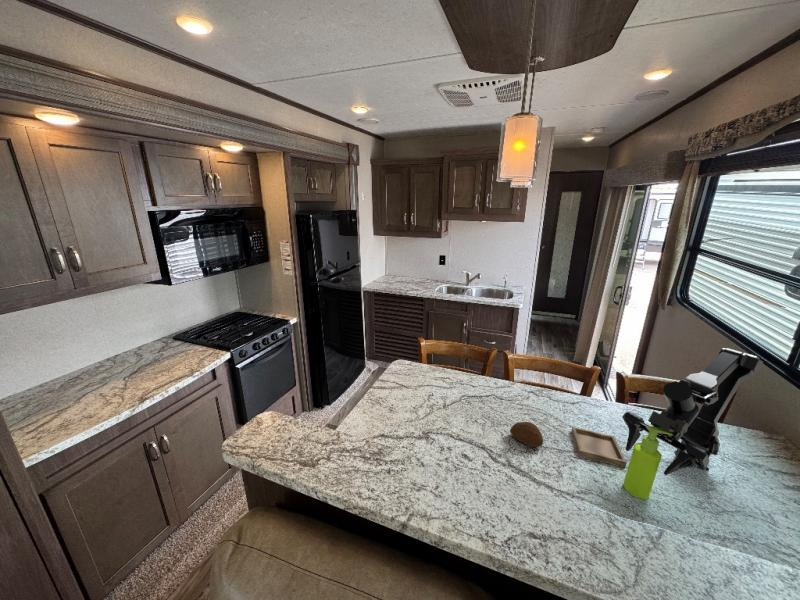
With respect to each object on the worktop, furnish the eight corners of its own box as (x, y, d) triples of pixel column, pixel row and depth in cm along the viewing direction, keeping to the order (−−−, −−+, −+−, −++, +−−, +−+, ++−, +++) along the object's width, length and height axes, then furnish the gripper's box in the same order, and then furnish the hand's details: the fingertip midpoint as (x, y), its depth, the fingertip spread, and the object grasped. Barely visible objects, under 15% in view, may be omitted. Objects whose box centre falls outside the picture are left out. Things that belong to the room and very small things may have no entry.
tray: (612, 441, 107) (614, 436, 106) (625, 467, 95) (626, 462, 95) (571, 431, 111) (572, 426, 110) (578, 455, 99) (579, 450, 99)
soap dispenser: (657, 502, 84) (679, 438, 79) (629, 496, 85) (648, 433, 80) (645, 484, 89) (664, 424, 84) (619, 479, 91) (636, 419, 86)
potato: (513, 429, 110) (516, 412, 108) (544, 442, 104) (548, 424, 103) (506, 439, 105) (509, 421, 103) (539, 454, 99) (543, 435, 97)
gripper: (634, 386, 90) (602, 427, 88) (718, 424, 74) (681, 476, 72) (642, 404, 96) (612, 444, 94) (723, 444, 80) (688, 493, 78)
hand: (644, 461), depth 84 cm, fingers open, 9 cm apart
